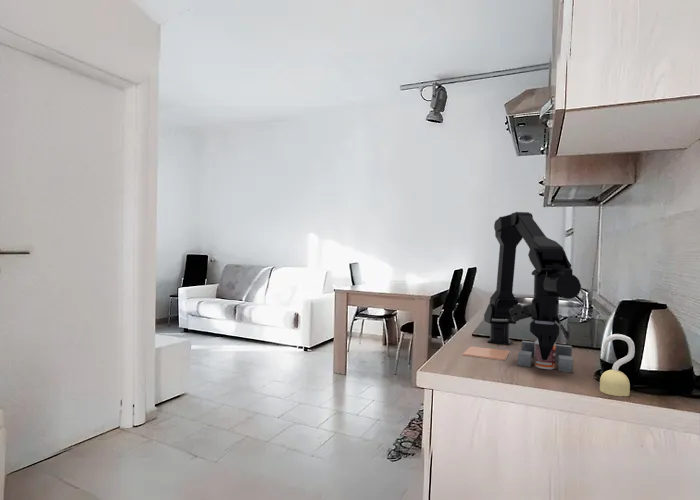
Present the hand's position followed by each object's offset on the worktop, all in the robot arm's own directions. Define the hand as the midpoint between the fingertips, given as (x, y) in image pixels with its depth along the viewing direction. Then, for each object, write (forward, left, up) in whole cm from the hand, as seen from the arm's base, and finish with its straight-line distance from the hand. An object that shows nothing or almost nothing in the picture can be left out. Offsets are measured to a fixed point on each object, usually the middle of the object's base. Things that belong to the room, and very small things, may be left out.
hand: (544, 357), depth 107 cm
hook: (+14, +14, -3) cm, 20 cm away
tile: (-7, -15, -2) cm, 17 cm away
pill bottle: (0, 0, -3) cm, 3 cm away
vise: (-7, 0, -2) cm, 7 cm away
